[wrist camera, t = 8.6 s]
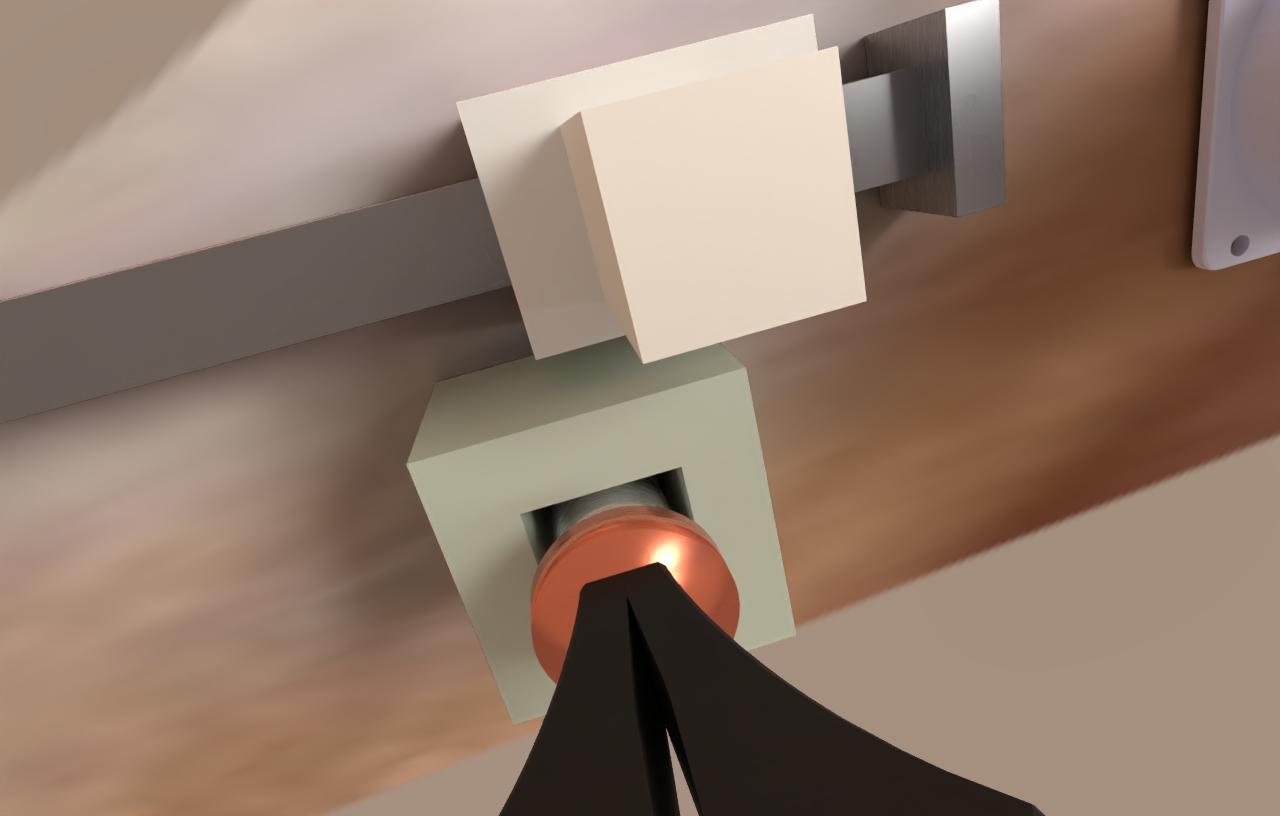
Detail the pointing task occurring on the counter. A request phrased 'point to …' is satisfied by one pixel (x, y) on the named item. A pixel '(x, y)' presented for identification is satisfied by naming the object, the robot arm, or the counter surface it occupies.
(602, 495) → the red push knob
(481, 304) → the counter surface
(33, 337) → the rail
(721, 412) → the box
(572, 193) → the carriage
